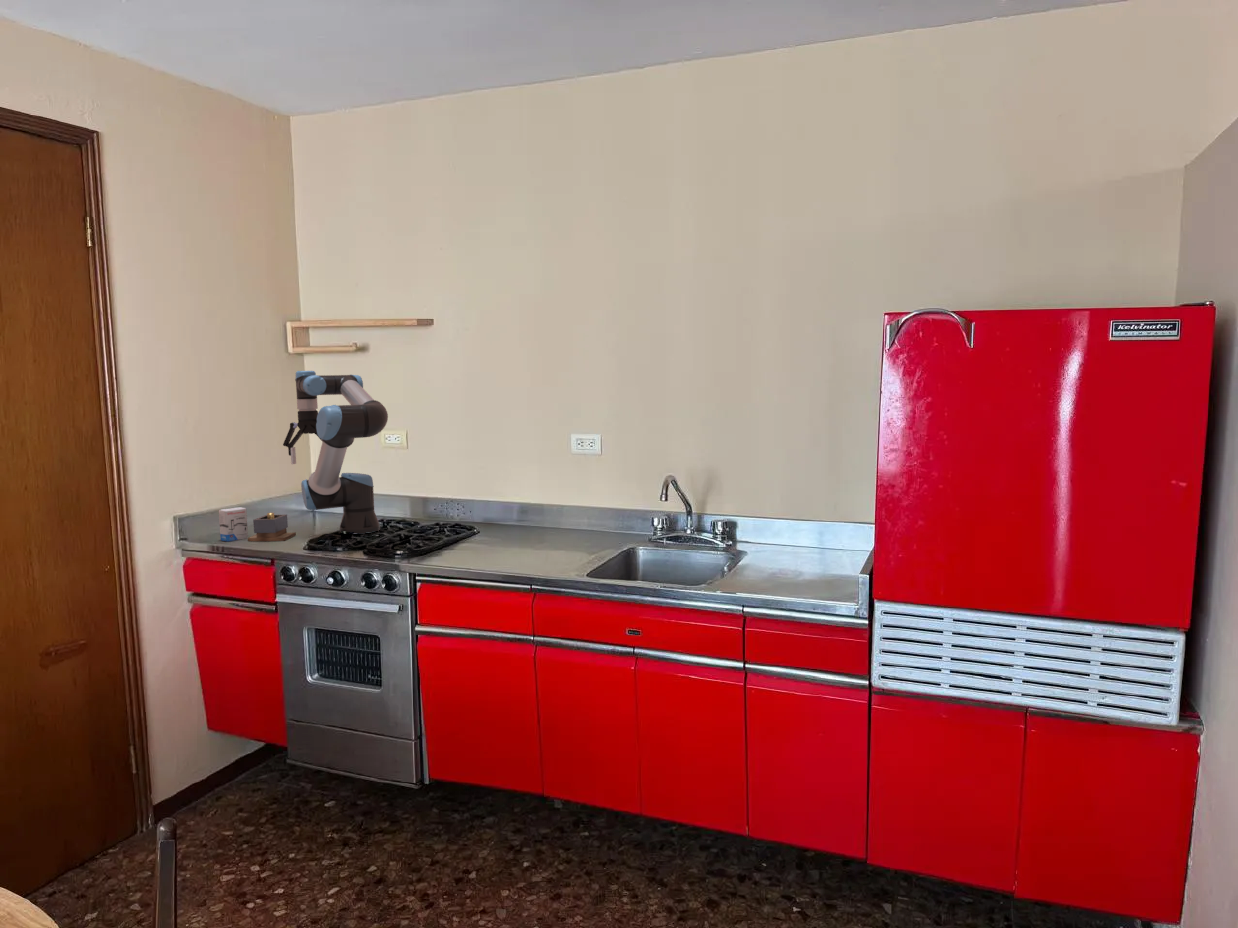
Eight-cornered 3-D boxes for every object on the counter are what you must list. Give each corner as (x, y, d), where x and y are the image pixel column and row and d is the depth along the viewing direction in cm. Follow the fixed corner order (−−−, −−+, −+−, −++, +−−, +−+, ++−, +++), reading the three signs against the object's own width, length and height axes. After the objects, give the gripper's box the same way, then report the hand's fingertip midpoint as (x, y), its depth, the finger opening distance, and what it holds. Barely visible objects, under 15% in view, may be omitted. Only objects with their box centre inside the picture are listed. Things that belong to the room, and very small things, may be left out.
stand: (295, 535, 315) (295, 527, 315) (284, 540, 305) (284, 532, 305) (260, 535, 316) (259, 527, 315) (247, 541, 306) (247, 532, 305)
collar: (287, 527, 316) (287, 514, 315) (275, 532, 305) (274, 519, 304) (267, 527, 316) (266, 514, 315) (254, 532, 305) (253, 519, 304)
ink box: (226, 542, 305) (224, 511, 304) (220, 540, 308) (217, 509, 307) (248, 538, 312) (246, 507, 311) (242, 536, 315) (240, 506, 314)
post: (276, 529, 311) (275, 512, 311) (272, 530, 308) (271, 513, 308) (269, 529, 311) (268, 512, 311) (266, 530, 309) (265, 513, 308)
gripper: (342, 409, 324) (345, 462, 327) (280, 410, 325) (283, 463, 327) (335, 410, 317) (338, 464, 319) (272, 411, 318) (275, 465, 320)
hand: (310, 463), depth 323 cm, fingers open, 13 cm apart
